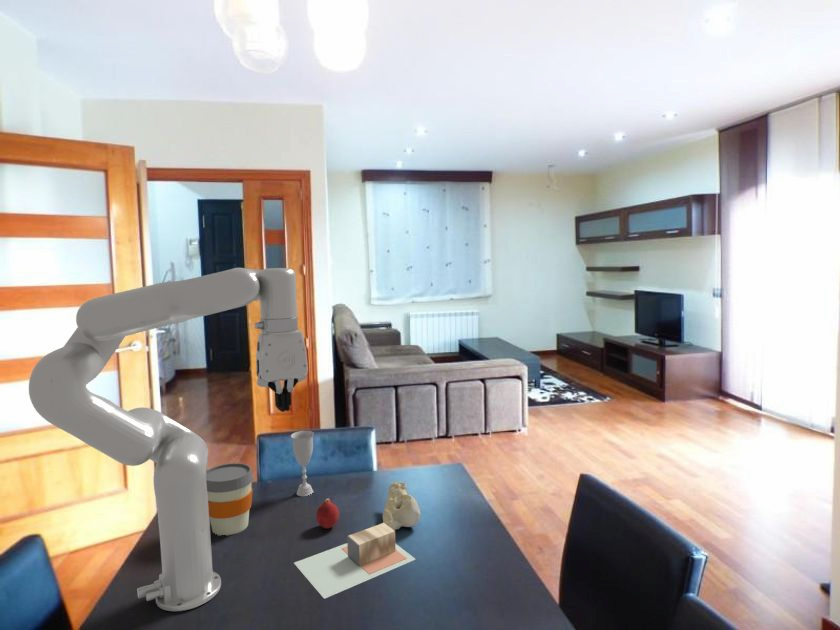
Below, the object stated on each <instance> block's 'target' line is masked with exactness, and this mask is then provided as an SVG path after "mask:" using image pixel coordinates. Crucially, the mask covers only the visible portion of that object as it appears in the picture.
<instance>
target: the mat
mask: <svg viewBox="0 0 840 630" xmlns="http://www.w3.org/2000/svg"><path fill="white" fill-rule="evenodd" d="M395 549H396V551H395V552H393V553H390V554H388V555H385V556H383V557H380V558H378V559H376V560H373V561H371V562H368V563H366V564H363V565H361V566H357V565H356V564H355V563H354V562H353V561H352V560H351V559H350V558H349V557H348V547H347V543H343V544H340V545H338V546H336V547H332V548H331V549H327V550H324V551H322V552H319V553H317V554H314V555H311V556H308V557H306V558H303V559H300V560H297V561H295V562H293V564H294V565H295V566H296V568H297V569H298V570H299V571H300V573H301V574H303V576H304V578H305V579H307V580H308V582H309V583H310V584H311V585H312V586H313V588H314V589H315V591H317V592H318V593H319V595H320V596H321V597H322V598H323V599H328V598H330V597H332V596H335V595H336V594H340V593H341V592H343V591H346V590H349V589H351V588H353V587H355V586H358V585H360V584H363V583H364V582H367V581H369V580H372V579H374V578H376V577H379V576H380V575H384V574H386V573H387V572H391V571H393V570H395V569H396V568H400V567H402V566H404V565H406V564H407V565H408V564H409V563H411V562H414V561H415V560H417V559H416V558H415V557H414V556H412V555H411V554H410V553H409V552H407V551H406V550H404V549H403V547H401V546H399V545H398V544H397V543H396V542H395Z"/></svg>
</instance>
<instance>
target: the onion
mask: <svg viewBox="0 0 840 630" xmlns="http://www.w3.org/2000/svg"><path fill="white" fill-rule="evenodd" d="M336 505H337V504H334V503H333V502H331V499H330V498H326V499H325V501H324V502H323V503H321V505H319V506H318V508H317V510H316V516H315V517H316V518H315V519H316V521H317V523H318V525H319V526H321V527H322V528H323V529H331V528H333V526H335V524H337V523H338V520H339V518H340V511H339V509H338V506H336Z"/></svg>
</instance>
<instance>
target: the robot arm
mask: <svg viewBox="0 0 840 630" xmlns="http://www.w3.org/2000/svg"><path fill="white" fill-rule="evenodd" d="M255 301H256V302H257V301H259V303H260V320H259V321H258V322H255V323H254V329H255V330H257V329H258V330H259V331H260V333H258V336H257V344H256V355H255V371H256V372H255V373H256V376H257V379H256V380H257V381H256V386H258V387H260V388H269V389H270V390H272V392H274V405H275V408H277V410H279V412H283V413H284V412H289V411H290V410H291V409H290V407H291V406H292V392H293V390H294V388H295V387H296V385H297V384H298V383H300V382H303V381H305V380H307V374H308V370H309V367H308V365H309V364H308V357H307V355H308V354H307V349H306V344H305V338H304V334H303V331H301V330H299V323H298V322H299V321H298V303H297V302H298V300H297V277H296V272H295V271H294V270H293V269H292V268H288V267H274V268H273V267H271V268H270V267H269V268H264V269H252V268H245V267H235V268H231V269H227V270H223V271H218V272H213V273H210V274H209V273H208V274H205V275H201V276H197V277H192V278H188V279H182V280H171V281H170V280H169V281H168V280H167V281H164V282H163V281H162V282H158V283H157V282H156V283H154V284H150V285H149V284H148V285H146V286H142V287H141V286H140V287H137V288H132V289H128V290H125V291H120V292H115V293H111V294H107V295H103V296H102V295H101V296H96V297H94V298H91V299H89V300H87V301H85V302H84V303H82V304H81V306H80V307H79V308H78V309H77V312H76V316H75V321H76V326H77V328H76V329H75V330H74V331H73V333H72V335H71V336H70V337H69V338H68V340H67V342H65V344H64V345H63V346H62V347H61V348H57V349H55V350H53V351H51V352H49V353H47V354H45V355H44V356H43V357H42V358H40V359H39V360H38V361H37V363H36V364H35V366H34V367H33V369H32V371H31V373H30V376H29V382H28V395H29V399H30V402H31V404H32V407H33V408H34V409H35V411H36V412H37V413H38V414H39V416H41V418H42V419H44V420H45V421H46V422H48V423H50V424H51V425H52V426H55V427H56V428H57V429H60V430H62V431H63V432H65V433H67V434H70V435H72V436H73V437H75V438H77V439H78V440H80V441H82V442H83V443H85V444H86V445H88V446H90V447H92V448H93V449H95V450H97V451H98V452H101V453H102V454H104V455H106V456H108V457H109V458H111V459H113V460H114V461H115V462H118V463H119V464H122V465H125V466H130V467H135V466H136V467H137V466H140V465H143V464H145V463H147V462H148V461H149V460H150V461H152V462H154V463H156V465H155V468H154V472H153V489H154V495H155V502H156V509H157V519H158V520H157V523H158V530H159V533H158V534H159V542H160V543H159V544H160V560H161V573H160V574H158V579H157V580H155V581H153V583H151V584H149V585H144V586H140V587H138V588H137V589H136V591H137V592H136V593H137V598H138V599H142V598H145V597H146V602H148V601H149V602H150V601H152V600H155V604H156V605H157V607H158V608H159V609H161V610H163V611H168V612H183V611H187V610H192V609H195V608H198V607H199V606H201V605H203V604H206V603H207V602H209V601H211V600H212V599H213V598H214V597H215V596H216V595H217V594H218V593H219V592H220V590H221V587H222V579H221V576H220V575H219V574H218V573H217V572H215V571H214V570H213V555H212V542H211V541H212V540H211V522H210V517H209V507H208V495H207V483H206V471H207V470H208V469H207V468H208V459H209V450H208V446H207V445H208V444H206V442H205V440H204V439H203V438H202V437H201V436H200V435H198V434H197V433H195V432H194V431H192V430H191V429H189V428H187V427H186V426H185V425H182V424H181V423H179V422H178V421H175V420H174V419H172V418H171V417H169V416H168V415H166V414H164V413H163V412H161V411H158V410H157V409H153V408H150V407H135V408H132V409H130V410H126V409H124V408H122V407H121V406H119V405H117V404H115V403H114V402H113V401H111V400H110V399H107V398H105V397H103V396H100V395H98V394H95V393H93V392H91V391H90V390H89V389H88V388H87V385H88V384H89V383H90V382H92V381H93V380H95V378H97V376H99V375H100V373H101V372H102V371H103V369H105V367H106V365H107V363H108V362H109V361H110V359H111V358H112V357H113V355H114V353H115V352H116V351H117V349H118V348H119V347H120V345H121V343H122V342H123V341H124V339H125V338H126V337H127V336H131V335H134V334H135V335H136V334H138V333H142V332H143V333H144V332H145V331H150V330H154V329H159V328H163V327H167V326H171V325H172V326H173V325H176V324H180V323H184V322H187V321H190V320H192V319H196V318H200V317H205V316H206V317H207V316H209V315H214V314H217V313H222V312H226V311H228V310H230V311H231V310H233V309H238V308H241V307H245V306H249V304H251V303H253V302H255ZM281 381H283V382H281ZM282 383H283V384H282Z"/></svg>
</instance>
